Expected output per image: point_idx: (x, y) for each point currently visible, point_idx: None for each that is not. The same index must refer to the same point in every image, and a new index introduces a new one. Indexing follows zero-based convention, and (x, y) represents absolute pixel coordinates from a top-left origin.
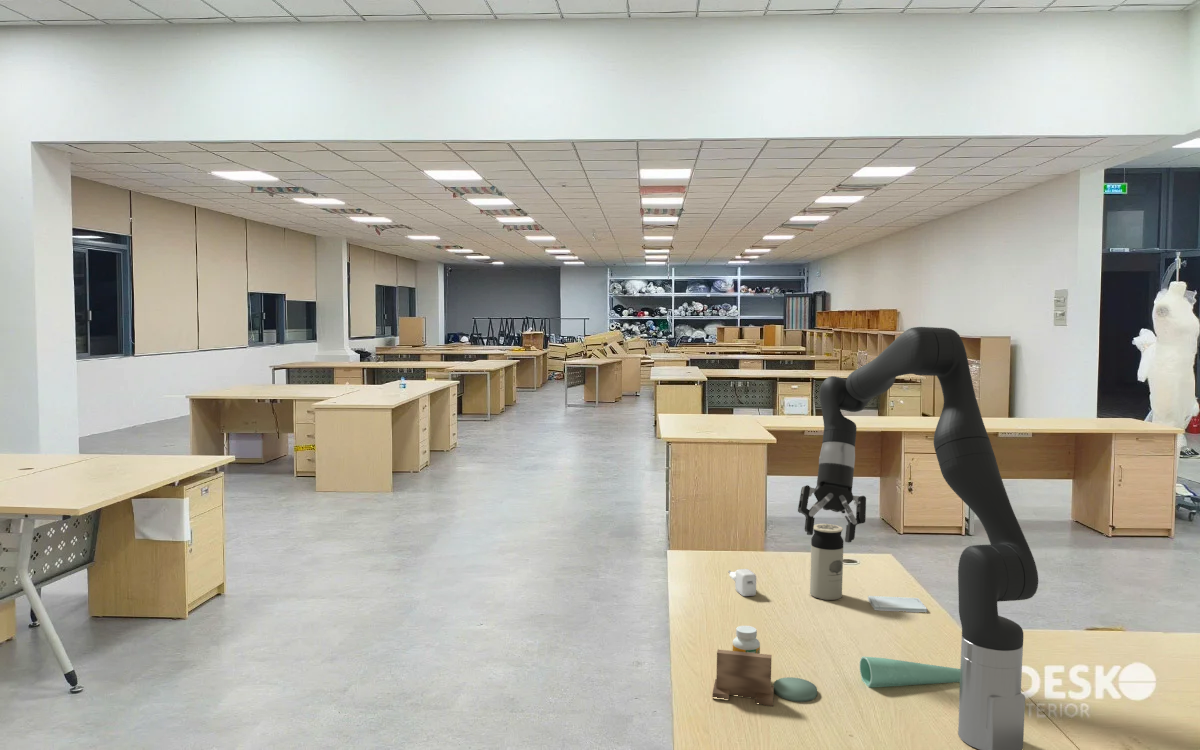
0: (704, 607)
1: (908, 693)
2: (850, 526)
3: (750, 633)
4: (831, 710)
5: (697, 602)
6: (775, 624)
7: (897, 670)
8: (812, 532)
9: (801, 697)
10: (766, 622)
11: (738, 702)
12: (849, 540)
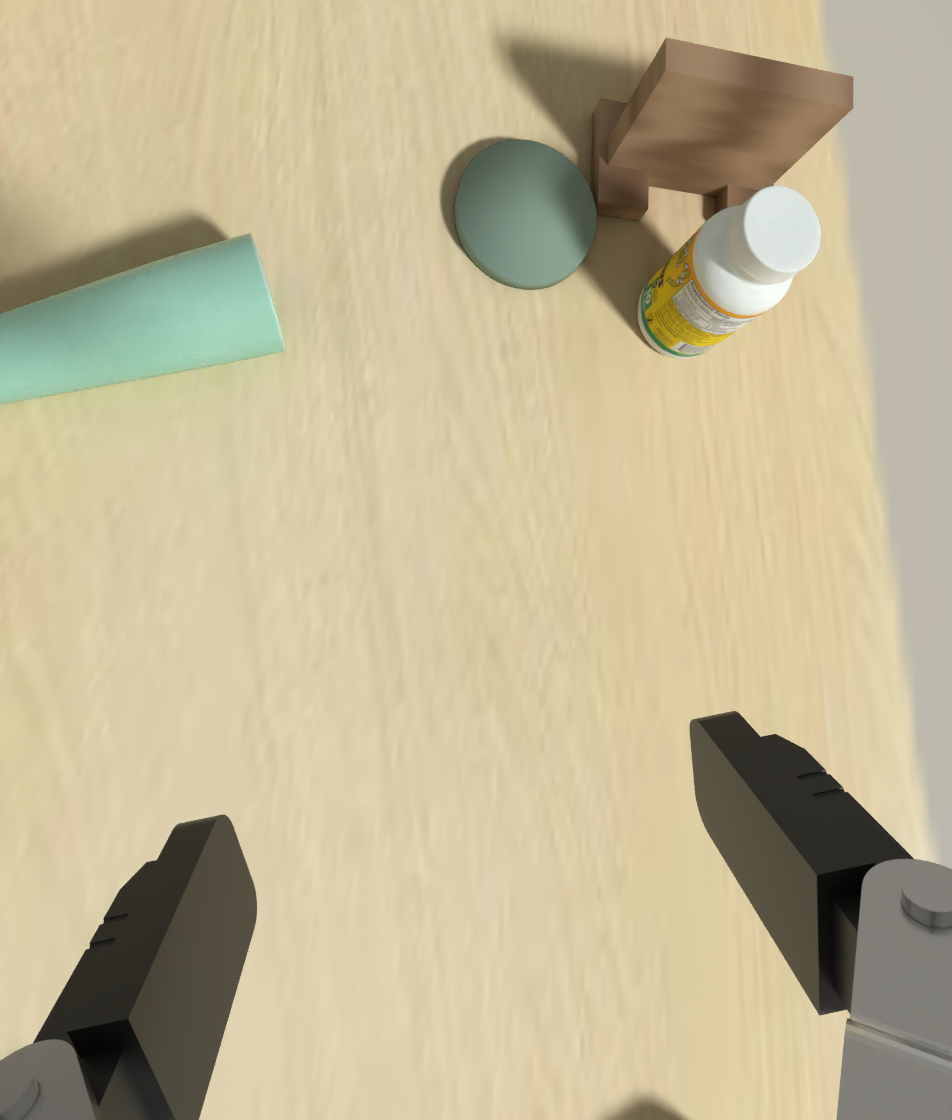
0: None
1: (118, 254)
2: (132, 987)
3: (764, 188)
4: (415, 101)
5: None
6: (579, 835)
7: (132, 268)
8: (707, 720)
9: (510, 141)
10: (614, 848)
11: None
12: (207, 819)
